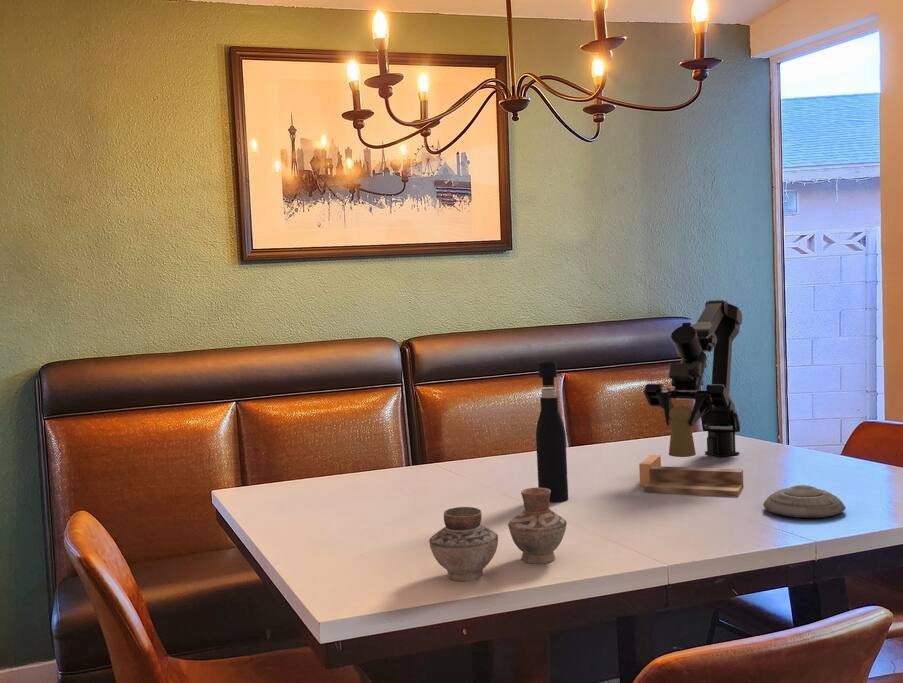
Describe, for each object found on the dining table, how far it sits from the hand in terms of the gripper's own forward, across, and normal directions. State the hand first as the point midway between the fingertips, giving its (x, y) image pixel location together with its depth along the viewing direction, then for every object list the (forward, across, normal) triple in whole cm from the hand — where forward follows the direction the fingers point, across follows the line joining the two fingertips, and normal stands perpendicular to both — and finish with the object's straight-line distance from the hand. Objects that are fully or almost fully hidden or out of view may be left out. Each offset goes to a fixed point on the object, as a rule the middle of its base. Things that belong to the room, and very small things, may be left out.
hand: (679, 424), depth 207 cm
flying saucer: (+22, +30, -3) cm, 37 cm away
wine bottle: (+27, -21, -8) cm, 35 cm away
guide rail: (+11, +3, +7) cm, 14 cm away
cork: (+4, 0, +6) cm, 7 cm away
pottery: (+60, -8, -42) cm, 73 cm away
